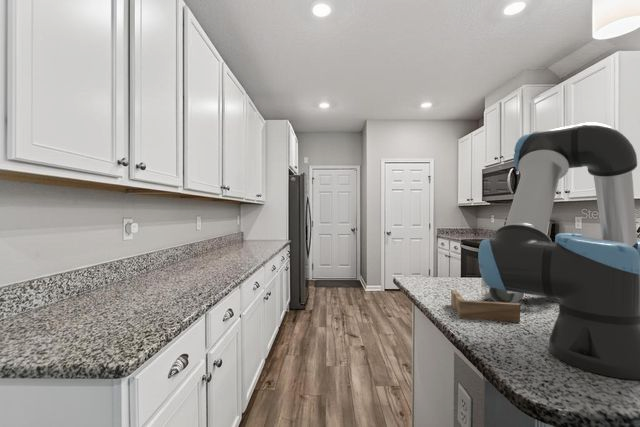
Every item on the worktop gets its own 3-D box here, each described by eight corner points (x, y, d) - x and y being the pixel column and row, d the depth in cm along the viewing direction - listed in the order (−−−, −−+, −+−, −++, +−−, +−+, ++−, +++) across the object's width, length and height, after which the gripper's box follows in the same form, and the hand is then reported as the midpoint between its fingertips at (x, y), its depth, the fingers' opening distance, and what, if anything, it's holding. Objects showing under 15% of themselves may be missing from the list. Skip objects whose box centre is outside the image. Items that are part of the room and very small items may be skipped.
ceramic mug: (526, 303, 94) (525, 279, 95) (515, 307, 90) (514, 281, 90) (490, 297, 103) (490, 274, 103) (479, 300, 98) (478, 276, 99)
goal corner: (522, 322, 78) (522, 304, 78) (460, 318, 82) (460, 301, 82) (500, 304, 94) (500, 290, 95) (449, 301, 98) (449, 287, 98)
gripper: (585, 300, 90) (527, 307, 83) (518, 285, 110) (468, 289, 104) (584, 275, 90) (527, 279, 83) (518, 264, 110) (468, 267, 104)
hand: (494, 285), depth 93 cm, fingers closed on ceramic mug, 9 cm apart
